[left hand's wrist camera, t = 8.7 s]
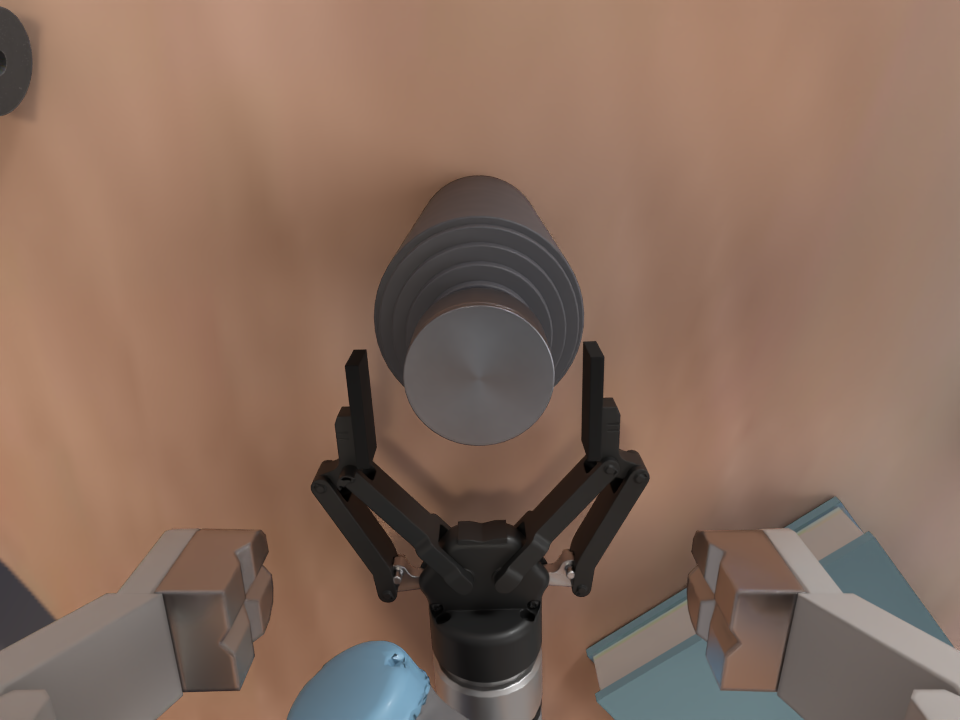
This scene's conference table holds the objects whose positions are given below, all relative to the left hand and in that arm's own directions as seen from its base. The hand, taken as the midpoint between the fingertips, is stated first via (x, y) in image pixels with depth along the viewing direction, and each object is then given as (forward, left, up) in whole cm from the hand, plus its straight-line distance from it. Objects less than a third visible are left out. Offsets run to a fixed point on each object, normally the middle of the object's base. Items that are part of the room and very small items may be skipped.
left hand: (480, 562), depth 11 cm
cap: (0, 0, -9) cm, 9 cm away
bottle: (0, 0, -32) cm, 32 cm away
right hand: (+2, +5, -26) cm, 26 cm away
